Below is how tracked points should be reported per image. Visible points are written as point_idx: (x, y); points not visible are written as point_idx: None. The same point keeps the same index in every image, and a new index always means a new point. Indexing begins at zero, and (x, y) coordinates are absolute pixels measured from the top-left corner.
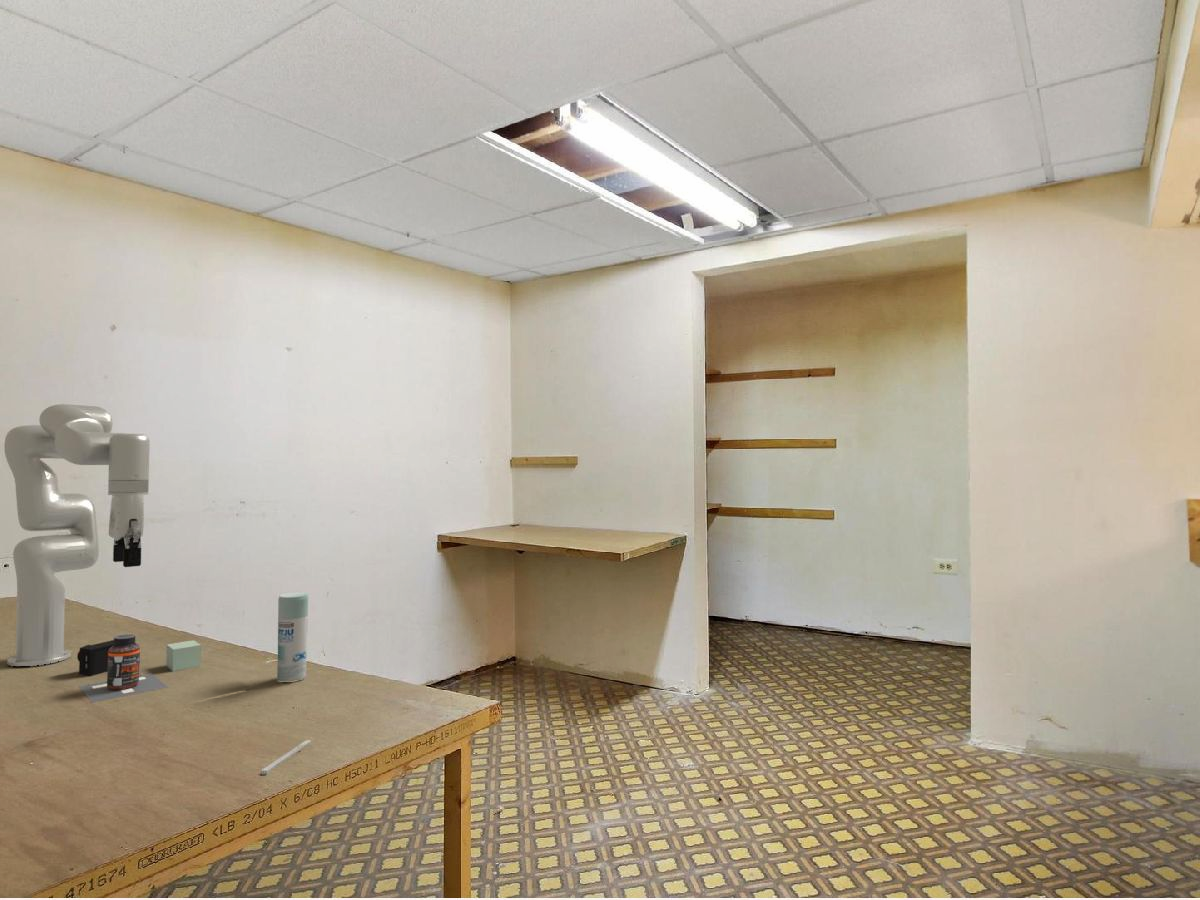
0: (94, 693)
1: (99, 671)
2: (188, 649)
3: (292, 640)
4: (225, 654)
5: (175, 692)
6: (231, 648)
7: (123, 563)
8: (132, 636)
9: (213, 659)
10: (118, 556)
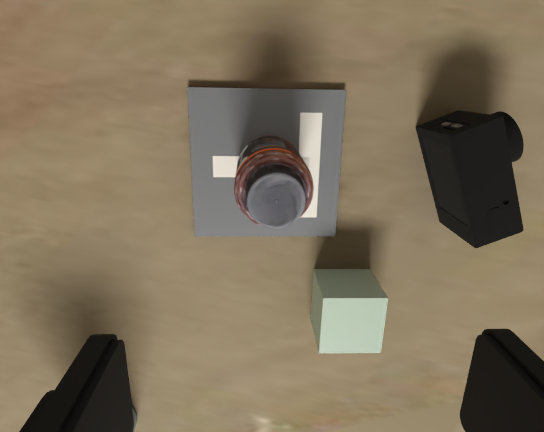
0: (258, 106)
1: (426, 149)
2: (319, 325)
3: None
4: (382, 379)
5: (167, 241)
6: (420, 399)
7: (90, 349)
8: (256, 218)
9: (362, 353)
10: (497, 385)
